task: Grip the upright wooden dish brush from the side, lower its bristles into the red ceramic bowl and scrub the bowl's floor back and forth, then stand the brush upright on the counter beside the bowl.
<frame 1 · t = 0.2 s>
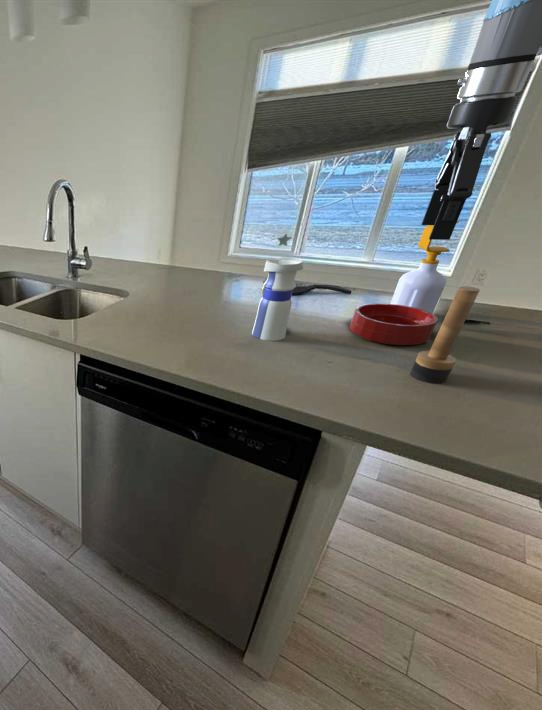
hand: (434, 231, 78), 27 cm above the worktop, tool pointing down, fingers open, 13 cm apart
red bowl: (386, 334, 101), on the worktop
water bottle: (266, 335, 106), on the worktop
dish brush: (427, 376, 83), on the worktop
soap bottle: (407, 316, 109), on the worktop
hairbrush: (304, 292, 131), on the worktop
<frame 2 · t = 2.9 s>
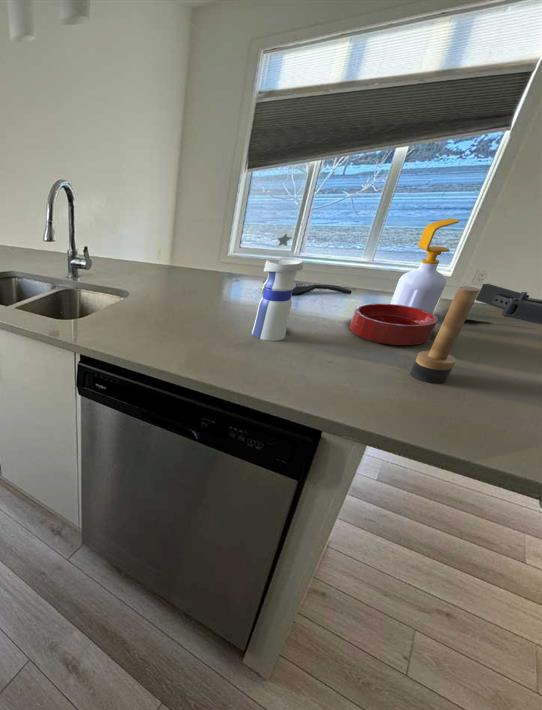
hand: (525, 290, 66), 21 cm above the worktop, tool horizontal, fingers open, 13 cm apart
nothing on the worktop moved.
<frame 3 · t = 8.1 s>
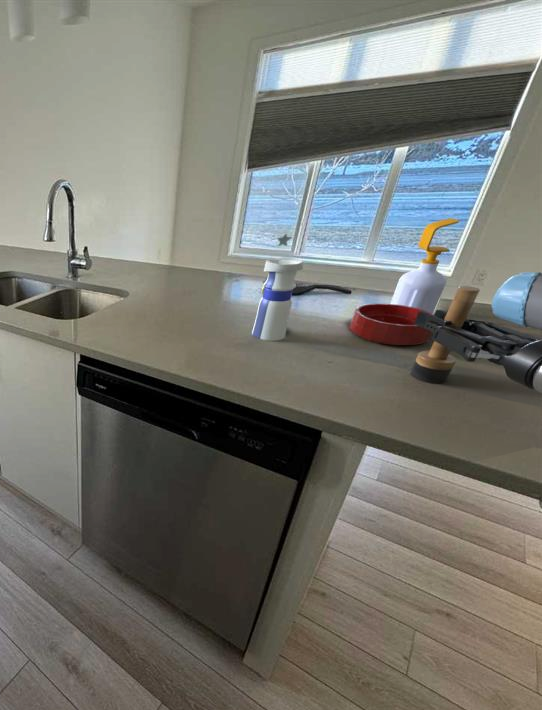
hand: (427, 316, 82), 11 cm above the worktop, tool horizontal, fingers closed on dish brush, 3 cm apart
dish brush: (427, 376, 83), on the worktop, touching gripper
everything else where it was.
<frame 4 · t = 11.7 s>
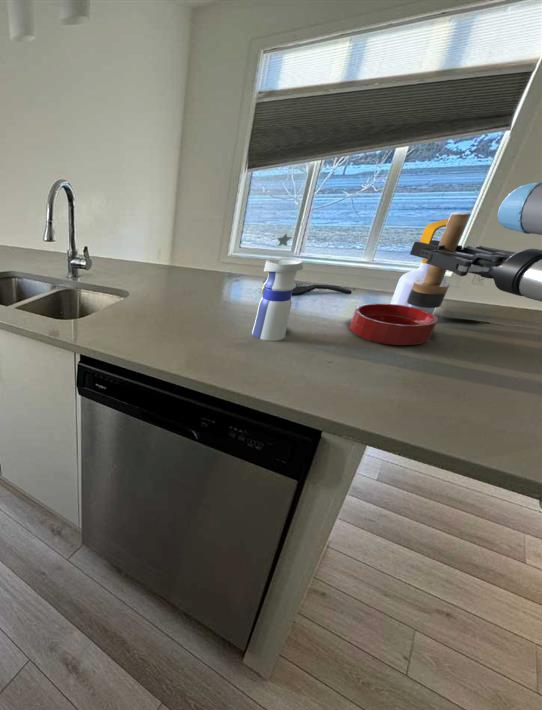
hand: (422, 247, 88), 22 cm above the worktop, tool horizontal, fingers closed on dish brush, 3 cm apart
dish brush: (423, 303, 89), point 11 cm above the worktop, touching gripper
everything else where it was.
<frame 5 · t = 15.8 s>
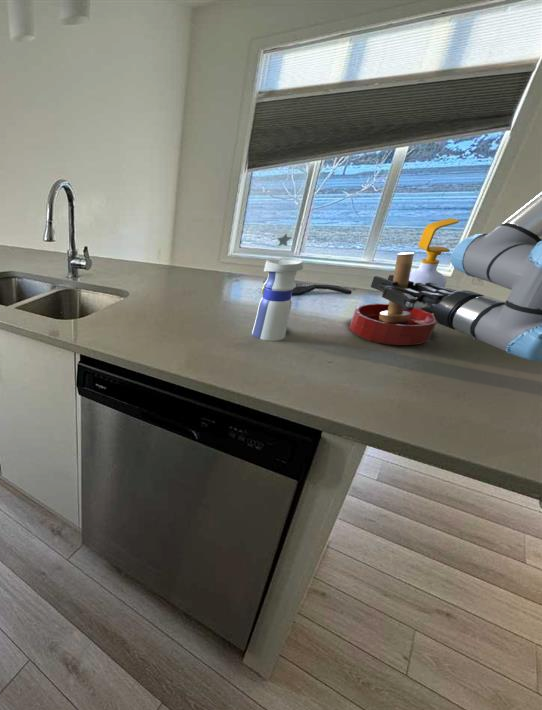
hand: (381, 281, 100), 12 cm above the worktop, tool horizontal, fingers closed on dish brush, 3 cm apart
red bowl: (386, 334, 101), on the worktop, touching dish brush
dish brush: (391, 331, 99), point 1 cm above the worktop, tilted 9°, touching gripper, red bowl
everything else where it was.
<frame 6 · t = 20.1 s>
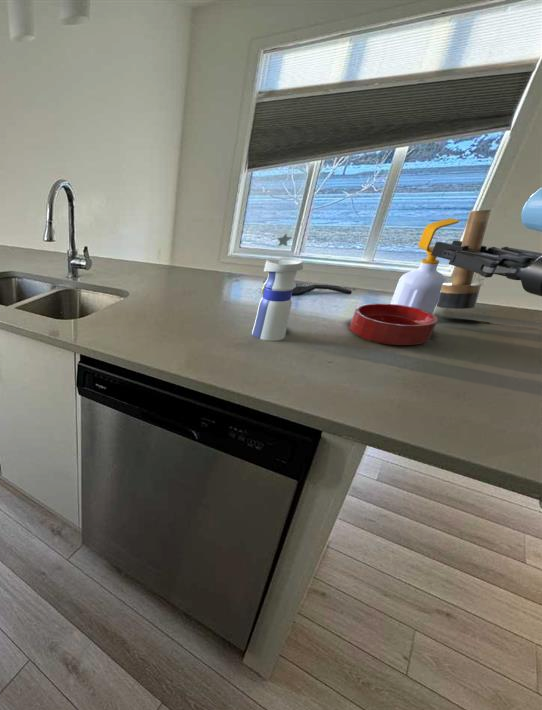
hand: (444, 247, 86), 22 cm above the worktop, tool horizontal, fingers closed on dish brush, 3 cm apart
red bowl: (386, 334, 101), on the worktop
dish brush: (455, 306, 84), point 12 cm above the worktop, tilted 11°, touching gripper
everything else where it was.
when the fingers open (11 cm above the worktop, at t = 23.6 s): dish brush stays where it is, on the worktop.
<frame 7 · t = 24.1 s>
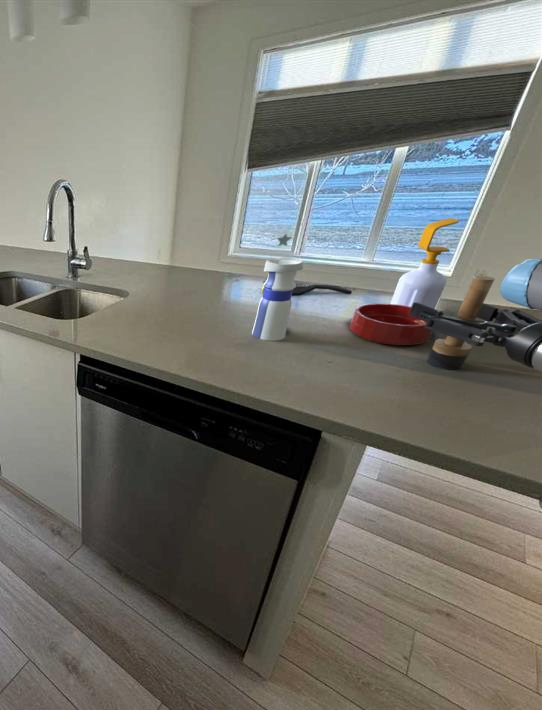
hand: (438, 306, 87), 11 cm above the worktop, tool horizontal, fingers open, 10 cm apart
dish brush: (444, 363, 87), on the worktop
everything else where it was.
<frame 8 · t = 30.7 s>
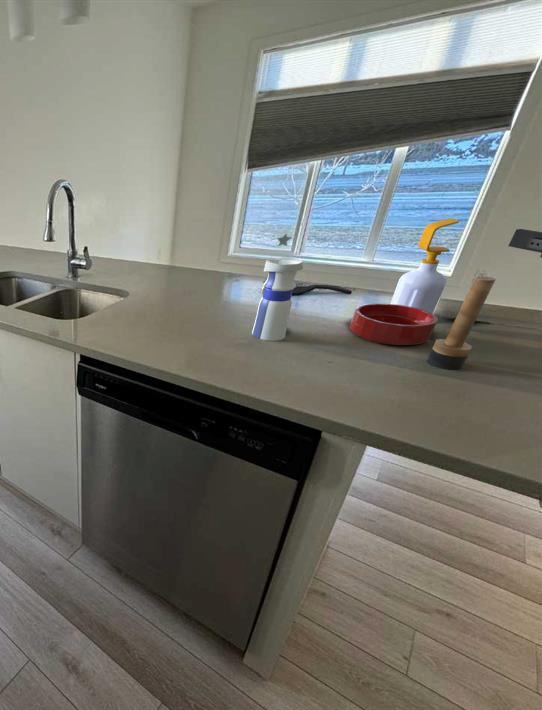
nothing on the worktop moved.
at the end: dish brush inside the target area (2.4 cm from its centre), on the worktop; dish brush tilted 0°; red bowl moved 0.0 cm from its start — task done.
